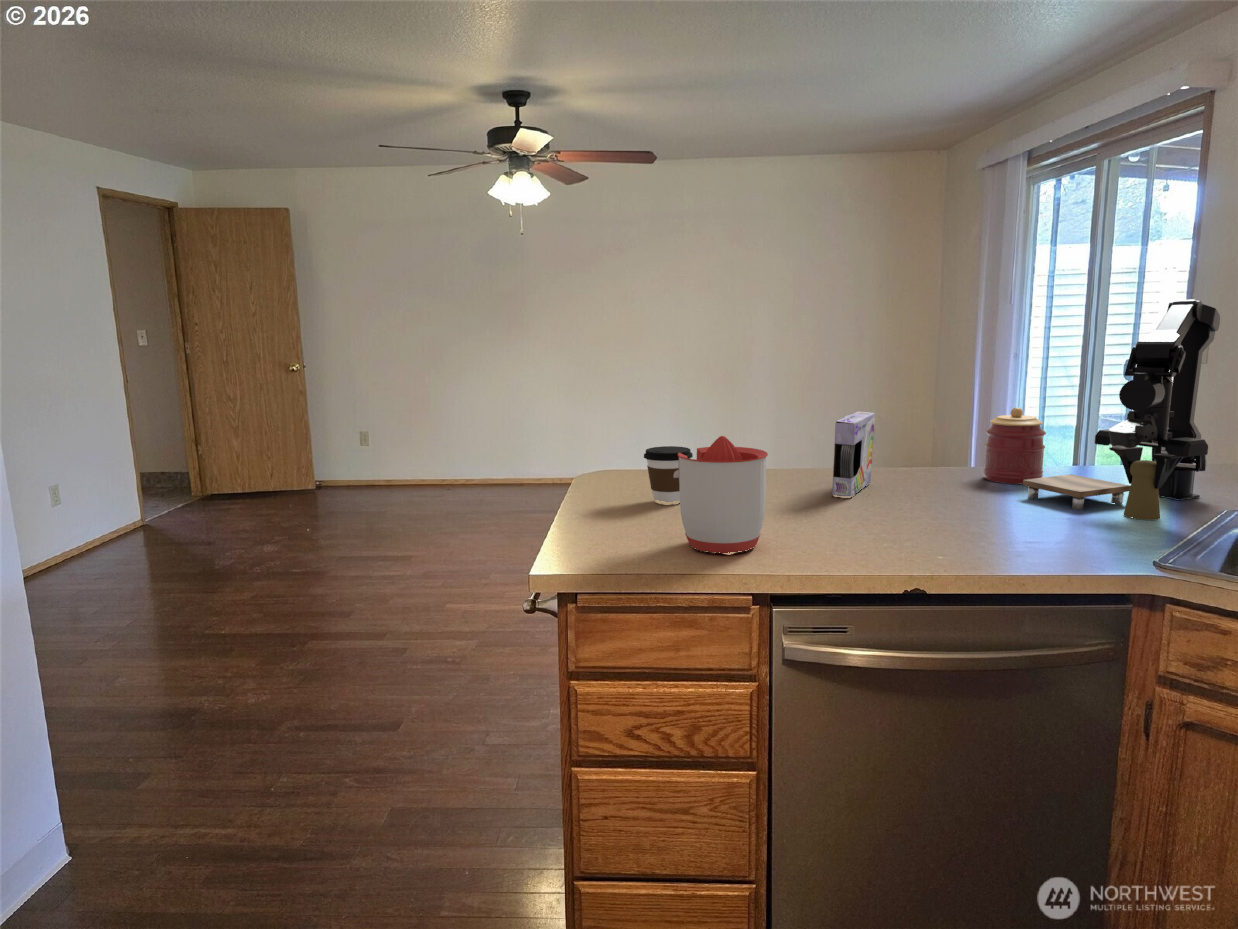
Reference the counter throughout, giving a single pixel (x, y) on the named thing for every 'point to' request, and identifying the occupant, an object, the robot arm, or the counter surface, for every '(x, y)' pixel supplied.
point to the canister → (1014, 448)
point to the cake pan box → (853, 453)
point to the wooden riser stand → (1076, 498)
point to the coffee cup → (665, 471)
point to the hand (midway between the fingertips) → (1144, 486)
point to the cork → (1143, 492)
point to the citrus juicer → (723, 496)
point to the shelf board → (1076, 485)
